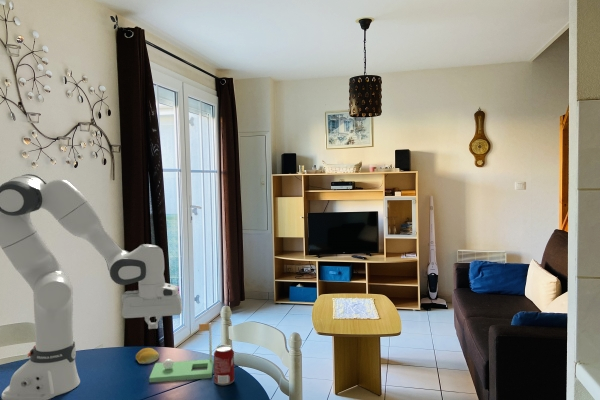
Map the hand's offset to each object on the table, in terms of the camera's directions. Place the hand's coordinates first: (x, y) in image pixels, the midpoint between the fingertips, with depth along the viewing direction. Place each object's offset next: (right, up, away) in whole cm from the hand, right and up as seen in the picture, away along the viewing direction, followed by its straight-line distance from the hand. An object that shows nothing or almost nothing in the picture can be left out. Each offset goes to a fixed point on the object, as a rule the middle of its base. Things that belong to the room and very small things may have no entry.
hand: (153, 328), depth 154 cm
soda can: (+26, -17, -5) cm, 32 cm away
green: (+10, -17, +2) cm, 19 cm away
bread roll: (-7, -17, +14) cm, 23 cm away
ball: (+5, -15, +1) cm, 16 cm away
